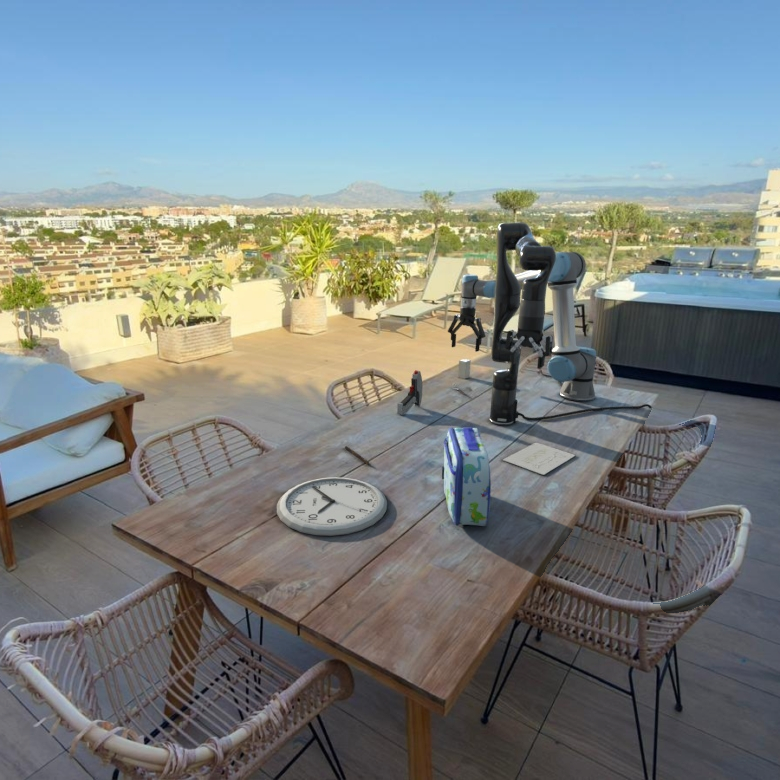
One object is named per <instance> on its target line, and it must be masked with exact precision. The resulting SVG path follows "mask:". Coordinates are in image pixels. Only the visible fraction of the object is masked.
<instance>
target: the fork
mask: <svg viewBox="0 0 780 780" xmlns="http://www.w3.org/2000/svg"><path fill="white" fill-rule="evenodd" d="M450 385H451V387H452V389H453V390H457V391H458V392H459V393H460V394H462V395H463V396H466V397H467V394H466V393H465V392H464V391H463V390H460V389H459V387H458V385H457V383H456V382H454V383H451V384H450Z"/></svg>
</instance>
